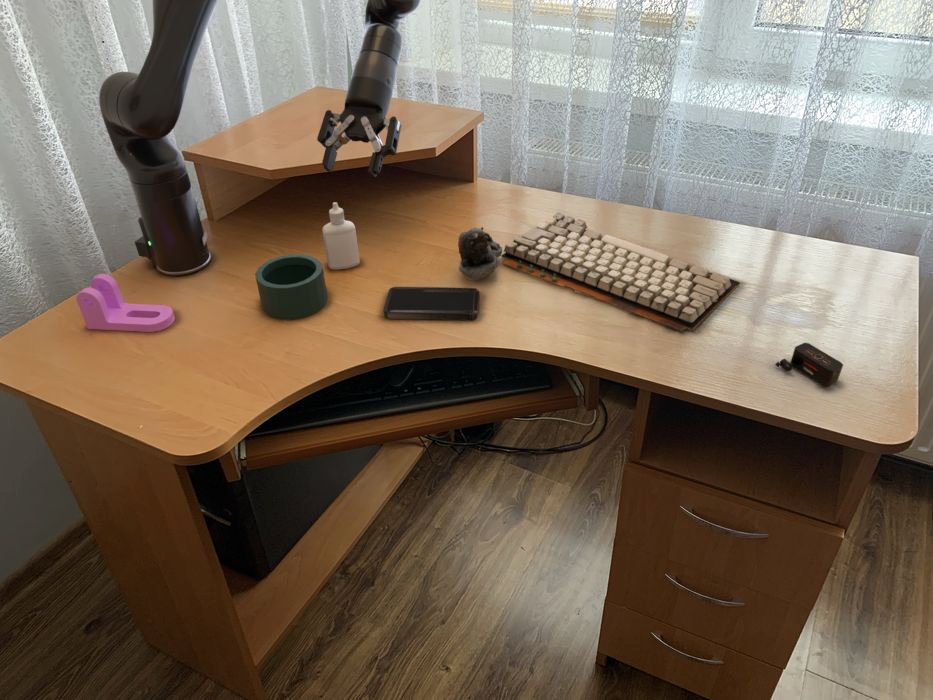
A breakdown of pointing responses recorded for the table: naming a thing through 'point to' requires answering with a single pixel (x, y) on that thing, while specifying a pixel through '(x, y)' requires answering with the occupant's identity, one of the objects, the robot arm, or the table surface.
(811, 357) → the wireless earbuds
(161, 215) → the robot arm
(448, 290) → the phone
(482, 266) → the bison figurine
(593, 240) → the mechanical keyboard
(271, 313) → the green short hollow cylinder
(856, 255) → the table surface
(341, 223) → the eye dropper bottle
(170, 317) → the bracket
